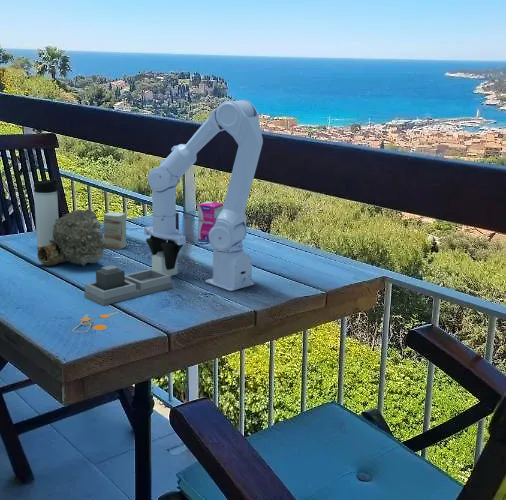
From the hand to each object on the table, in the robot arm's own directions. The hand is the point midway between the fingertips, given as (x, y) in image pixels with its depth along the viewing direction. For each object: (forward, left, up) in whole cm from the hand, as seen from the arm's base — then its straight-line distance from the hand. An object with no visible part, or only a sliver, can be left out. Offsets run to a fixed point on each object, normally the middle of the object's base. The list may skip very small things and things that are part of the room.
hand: (164, 266), depth 172 cm
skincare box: (+30, -5, -2) cm, 30 cm away
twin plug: (-6, +20, -1) cm, 21 cm away
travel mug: (+41, +10, -2) cm, 42 cm away
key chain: (-17, +31, -2) cm, 35 cm away
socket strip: (-6, +15, -2) cm, 16 cm away
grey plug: (0, 0, -2) cm, 2 cm away
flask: (+28, -24, -2) cm, 37 cm away
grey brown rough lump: (+24, +13, -2) cm, 27 cm away
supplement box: (+19, -32, -2) cm, 37 cm away
